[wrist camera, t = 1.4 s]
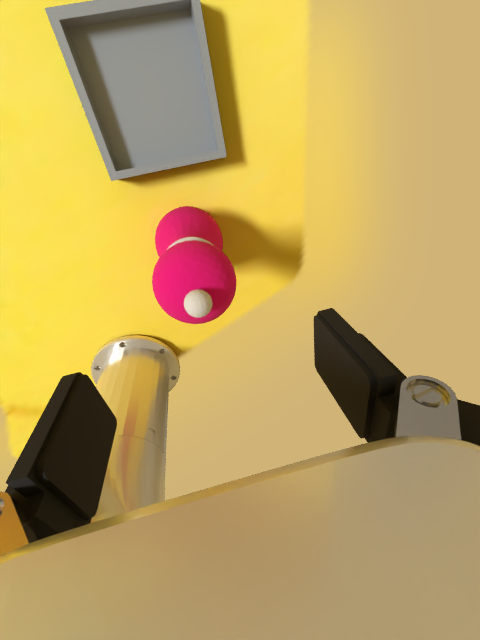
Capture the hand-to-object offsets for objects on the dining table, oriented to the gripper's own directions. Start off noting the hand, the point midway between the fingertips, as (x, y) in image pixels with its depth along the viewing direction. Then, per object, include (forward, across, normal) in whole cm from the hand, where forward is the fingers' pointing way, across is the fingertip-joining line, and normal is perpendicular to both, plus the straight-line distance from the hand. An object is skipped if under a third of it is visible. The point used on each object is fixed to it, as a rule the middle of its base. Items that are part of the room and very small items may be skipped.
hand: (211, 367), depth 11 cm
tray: (+26, 0, -12) cm, 29 cm away
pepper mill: (+26, 0, +1) cm, 26 cm away
